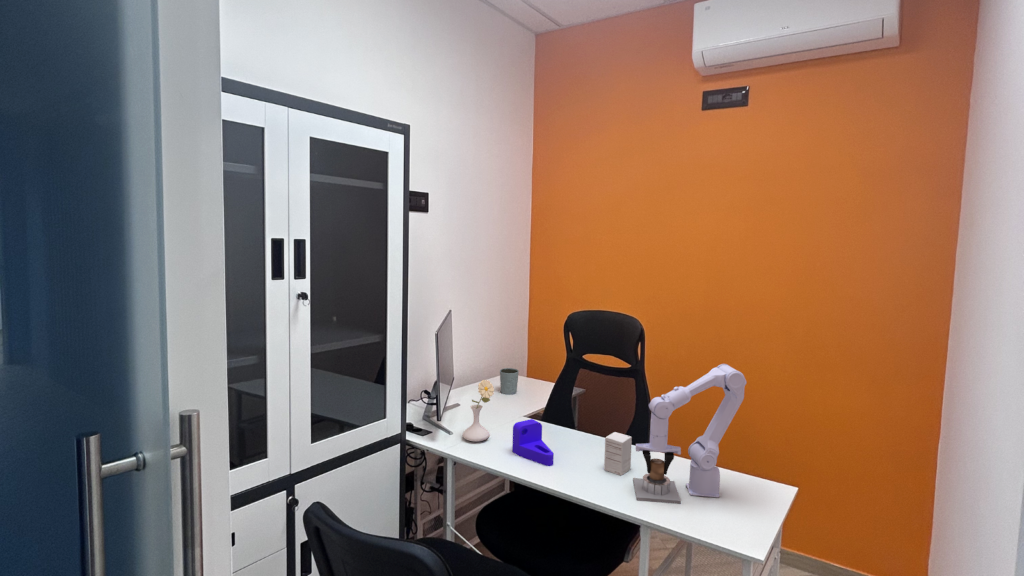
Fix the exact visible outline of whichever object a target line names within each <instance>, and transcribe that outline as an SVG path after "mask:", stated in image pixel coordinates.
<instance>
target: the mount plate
mask: <svg viewBox="0 0 1024 576" xmlns="http://www.w3.org/2000/svg"><path fill="white" fill-rule="evenodd" d="M632 483H633V489H634V492H635V493H634V494H635V497H636V501H642V502H656V503H664V504H665V503H666V504H676V505H677V504H679V505H681V504H682V499H681V498H680V495H679V491H678V488H677V485H676V482H675V480H670V492H669V493H668V494H666V495H653V494H650V493H648V492H646V491H644V490H643V487H642V485H643V478H638V477H637V478H636V477H633V478H632Z"/></svg>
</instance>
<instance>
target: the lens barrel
mask: <svg viewBox="0 0 1024 576" xmlns="http://www.w3.org/2000/svg"><path fill="white" fill-rule="evenodd" d="M642 479H643V485H642V487H643V490H644V491H646V492H648V493H650V494H653V495H666V494H668V493H669V492H670V481H671V479H670V477H668V476H667V475H665V474H664V479H663V480H653V479H651V478H650V477H649V473H645V474H644V475H643V476H642Z"/></svg>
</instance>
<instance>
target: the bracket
mask: <svg viewBox="0 0 1024 576" xmlns="http://www.w3.org/2000/svg"><path fill="white" fill-rule="evenodd" d="M511 451H512V453H513V454H515V455H517V456H518V457H520V458H523V459H526V460H529V461H531V462H534V463H537V464H538V465H539V464H540V465H543V466H546V467H552V466H554V452H553V451H552V449H550V447H549V446H548V445H547V444H546V443H545V442H544V441H543V424H542V423H541V422H539V421H537V420H535V419H534V418H530V419H526V420H521V421H517V422H515V423H514V424H513V426H512V450H511Z"/></svg>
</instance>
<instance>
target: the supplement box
mask: <svg viewBox="0 0 1024 576" xmlns="http://www.w3.org/2000/svg"><path fill="white" fill-rule="evenodd" d="M632 439H633V437H632V436H630V435H627V434H623V433H620V432H616V431H614V432H612V433H610V434H609V435H607V436H606V437H605V440H604V459H603V460H604V466H603V470H604V471H607V472H609V473H612V474H616V475H618V476H623V475H624V474H626V473H627V472H628V471H630V470H631V467H632V464H631V463H632V462H631V461H632V443H633V441H632Z"/></svg>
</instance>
